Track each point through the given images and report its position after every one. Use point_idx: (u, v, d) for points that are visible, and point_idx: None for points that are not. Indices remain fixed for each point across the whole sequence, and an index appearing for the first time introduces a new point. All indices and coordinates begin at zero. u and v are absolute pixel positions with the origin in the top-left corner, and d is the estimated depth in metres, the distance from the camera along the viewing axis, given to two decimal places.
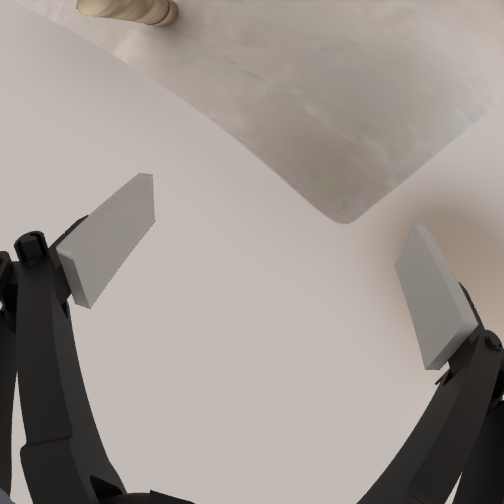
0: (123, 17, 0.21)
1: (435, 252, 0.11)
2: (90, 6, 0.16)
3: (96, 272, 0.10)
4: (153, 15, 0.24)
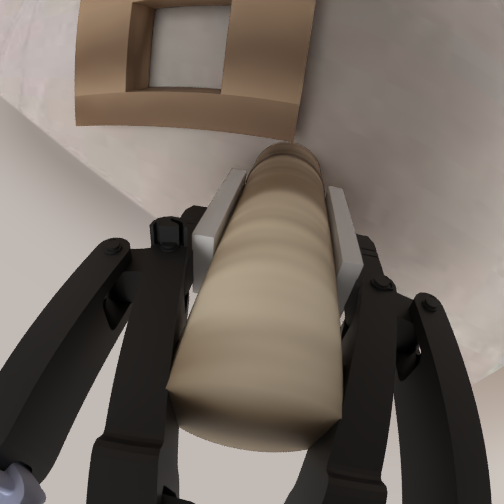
0: None
1: (339, 207, 0.13)
2: (233, 437, 0.07)
3: None
4: None
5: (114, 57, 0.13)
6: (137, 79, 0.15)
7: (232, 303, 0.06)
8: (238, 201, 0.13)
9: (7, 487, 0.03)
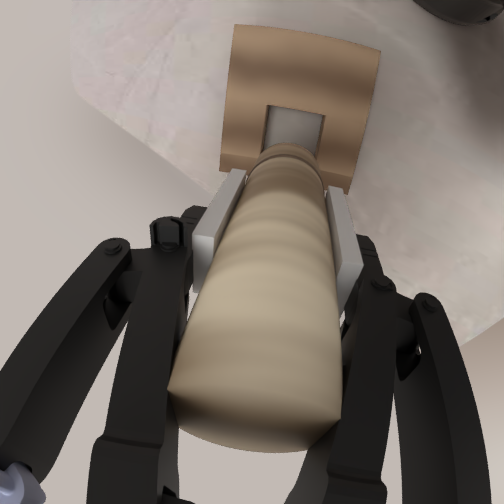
0: None
1: (339, 207, 0.13)
2: (233, 438, 0.07)
3: None
4: None
5: (253, 136, 0.28)
6: (261, 148, 0.30)
7: (232, 305, 0.06)
8: (238, 202, 0.13)
9: (7, 487, 0.03)
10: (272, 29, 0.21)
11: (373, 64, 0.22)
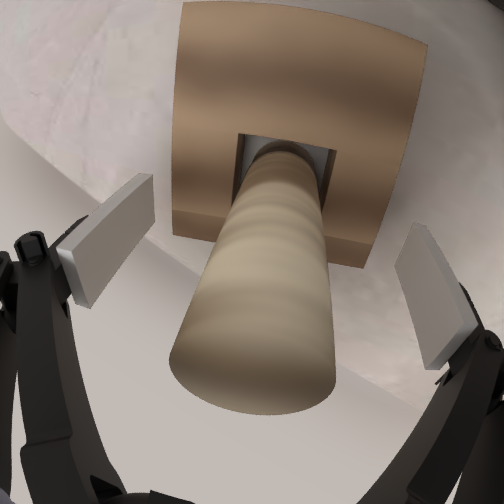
0: None
1: (435, 252, 0.11)
2: (237, 397, 0.08)
3: (96, 272, 0.10)
4: None
5: (218, 185, 0.18)
6: None
7: (236, 269, 0.08)
8: (238, 192, 0.14)
9: None
10: (245, 5, 0.11)
11: (416, 66, 0.12)
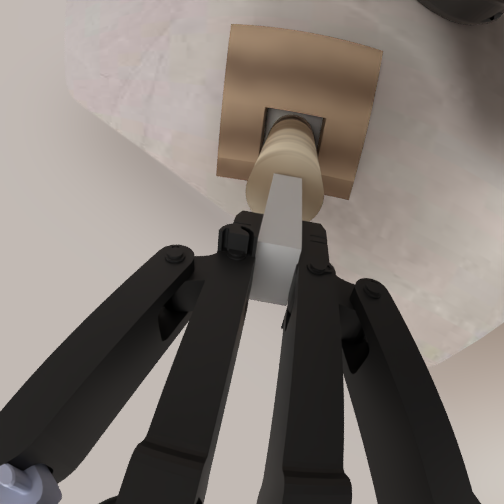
0: None
1: (292, 195, 0.13)
2: None
3: None
4: None
5: (251, 140, 0.27)
6: None
7: (276, 148, 0.17)
8: (268, 137, 0.23)
9: (24, 488, 0.03)
10: (270, 29, 0.20)
11: (375, 65, 0.21)
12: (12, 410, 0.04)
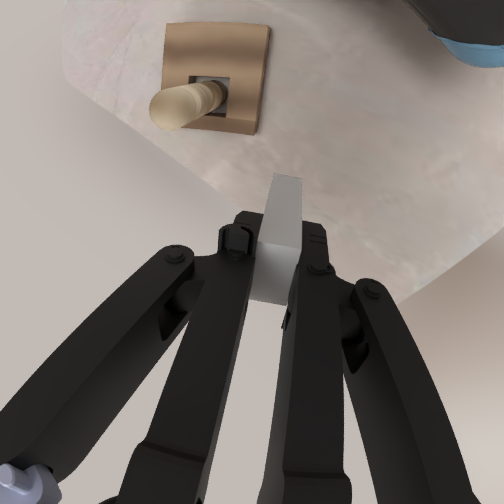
0: None
1: (292, 195, 0.13)
2: (166, 119, 0.26)
3: None
4: (212, 109, 0.34)
5: None
6: None
7: None
8: None
9: (24, 488, 0.03)
10: (190, 23, 0.29)
11: (262, 35, 0.30)
12: (12, 410, 0.04)
